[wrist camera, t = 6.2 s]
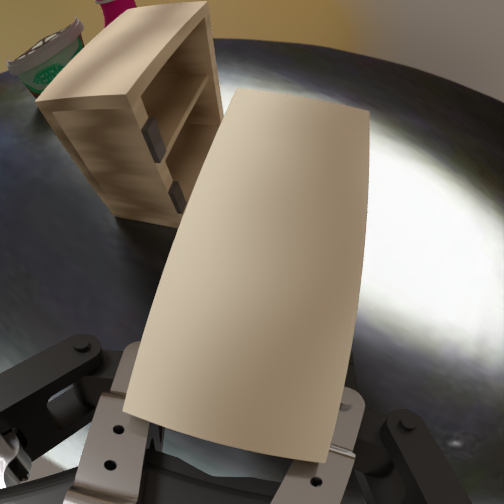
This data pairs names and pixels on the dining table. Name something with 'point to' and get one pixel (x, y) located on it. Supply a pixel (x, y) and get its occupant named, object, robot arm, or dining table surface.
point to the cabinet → (141, 109)
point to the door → (262, 282)
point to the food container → (48, 58)
